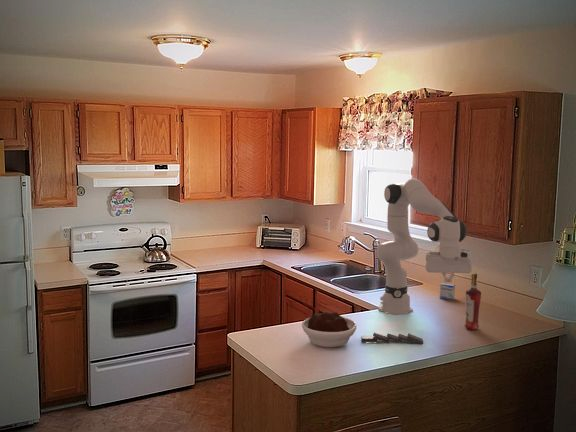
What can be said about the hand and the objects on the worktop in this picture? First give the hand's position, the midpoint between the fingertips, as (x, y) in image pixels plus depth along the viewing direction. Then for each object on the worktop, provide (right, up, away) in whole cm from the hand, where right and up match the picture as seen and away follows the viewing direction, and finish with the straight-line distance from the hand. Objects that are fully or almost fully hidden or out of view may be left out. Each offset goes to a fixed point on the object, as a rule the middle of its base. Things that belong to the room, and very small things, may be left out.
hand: (447, 282), depth 270 cm
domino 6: (-11, -28, +4) cm, 30 cm away
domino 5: (-15, -28, +4) cm, 32 cm away
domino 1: (-32, -27, +5) cm, 42 cm away
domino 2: (-30, -29, +6) cm, 42 cm away
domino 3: (-26, -28, +5) cm, 39 cm away
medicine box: (+21, -19, +79) cm, 84 cm away
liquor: (+19, -26, +25) cm, 41 cm away
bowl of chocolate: (-54, -29, +2) cm, 62 cm away
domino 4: (-20, -28, +5) cm, 35 cm away
